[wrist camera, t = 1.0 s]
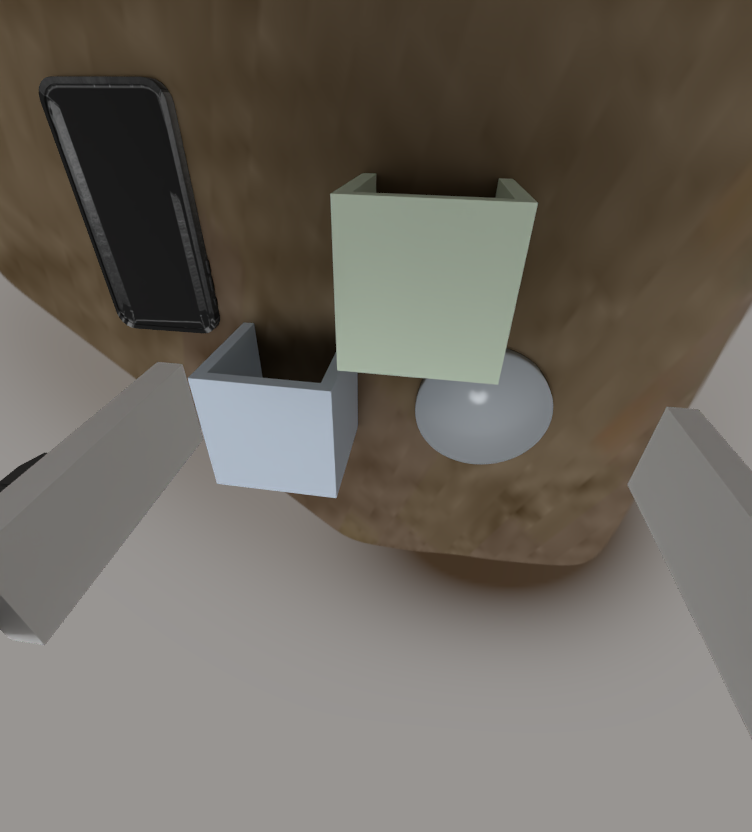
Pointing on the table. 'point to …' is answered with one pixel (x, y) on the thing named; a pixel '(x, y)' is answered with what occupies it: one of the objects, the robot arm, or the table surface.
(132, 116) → the phone
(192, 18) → the table surface
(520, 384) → the dish
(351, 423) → the blue cover
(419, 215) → the sage cover
